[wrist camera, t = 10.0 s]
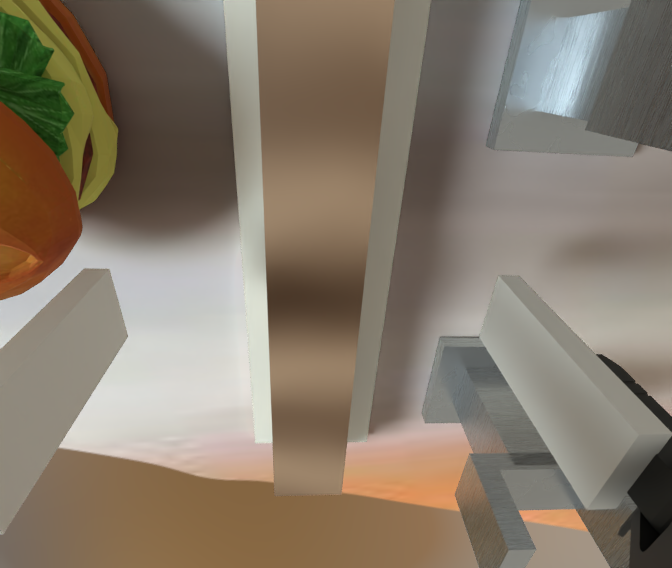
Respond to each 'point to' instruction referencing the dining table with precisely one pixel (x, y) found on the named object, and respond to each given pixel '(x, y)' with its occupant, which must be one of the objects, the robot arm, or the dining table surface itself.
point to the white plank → (385, 210)
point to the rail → (317, 218)
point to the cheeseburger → (48, 138)
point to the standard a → (507, 462)
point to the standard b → (587, 78)
